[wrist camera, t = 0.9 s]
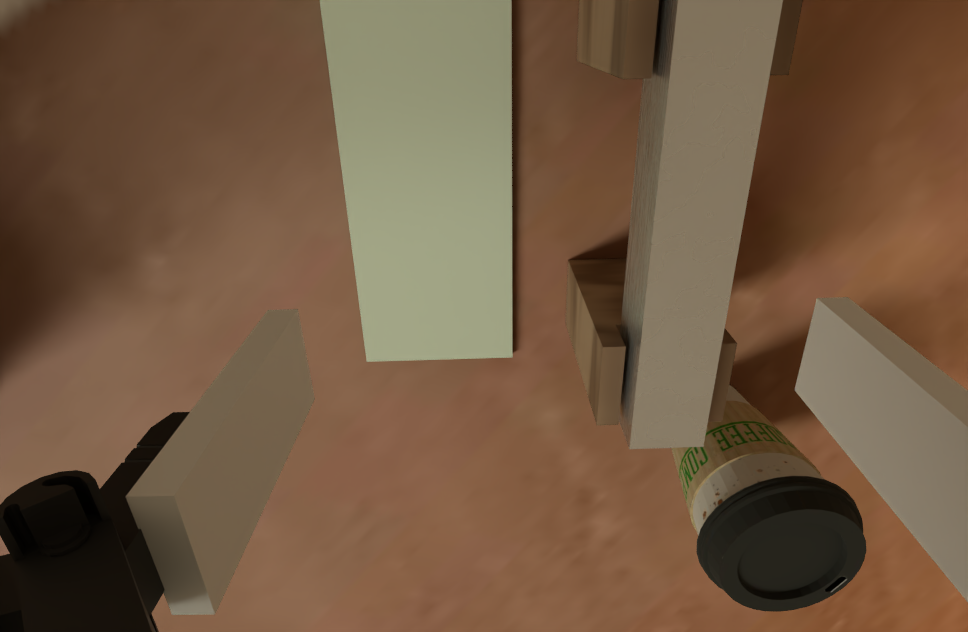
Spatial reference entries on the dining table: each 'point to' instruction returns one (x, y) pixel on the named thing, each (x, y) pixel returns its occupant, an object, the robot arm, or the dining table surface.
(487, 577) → the dining table surface
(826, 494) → the coffee cup
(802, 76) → the dining table surface
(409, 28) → the mat
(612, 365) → the post
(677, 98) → the rail
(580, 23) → the post
